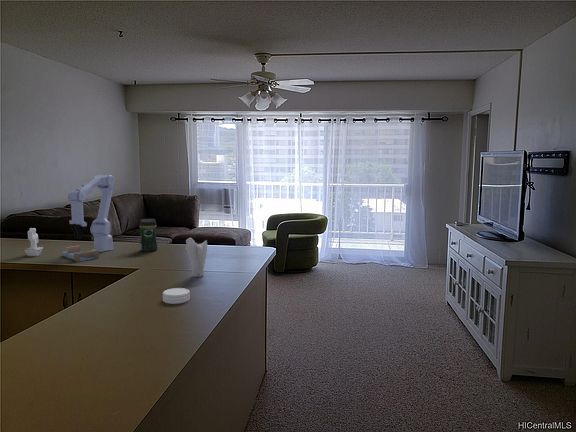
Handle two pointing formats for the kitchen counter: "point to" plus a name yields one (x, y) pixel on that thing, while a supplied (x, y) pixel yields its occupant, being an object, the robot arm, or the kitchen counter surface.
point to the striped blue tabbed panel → (83, 255)
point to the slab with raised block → (71, 250)
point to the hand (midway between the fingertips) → (78, 238)
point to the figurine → (33, 243)
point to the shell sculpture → (196, 256)
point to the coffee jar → (148, 235)
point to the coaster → (176, 295)
